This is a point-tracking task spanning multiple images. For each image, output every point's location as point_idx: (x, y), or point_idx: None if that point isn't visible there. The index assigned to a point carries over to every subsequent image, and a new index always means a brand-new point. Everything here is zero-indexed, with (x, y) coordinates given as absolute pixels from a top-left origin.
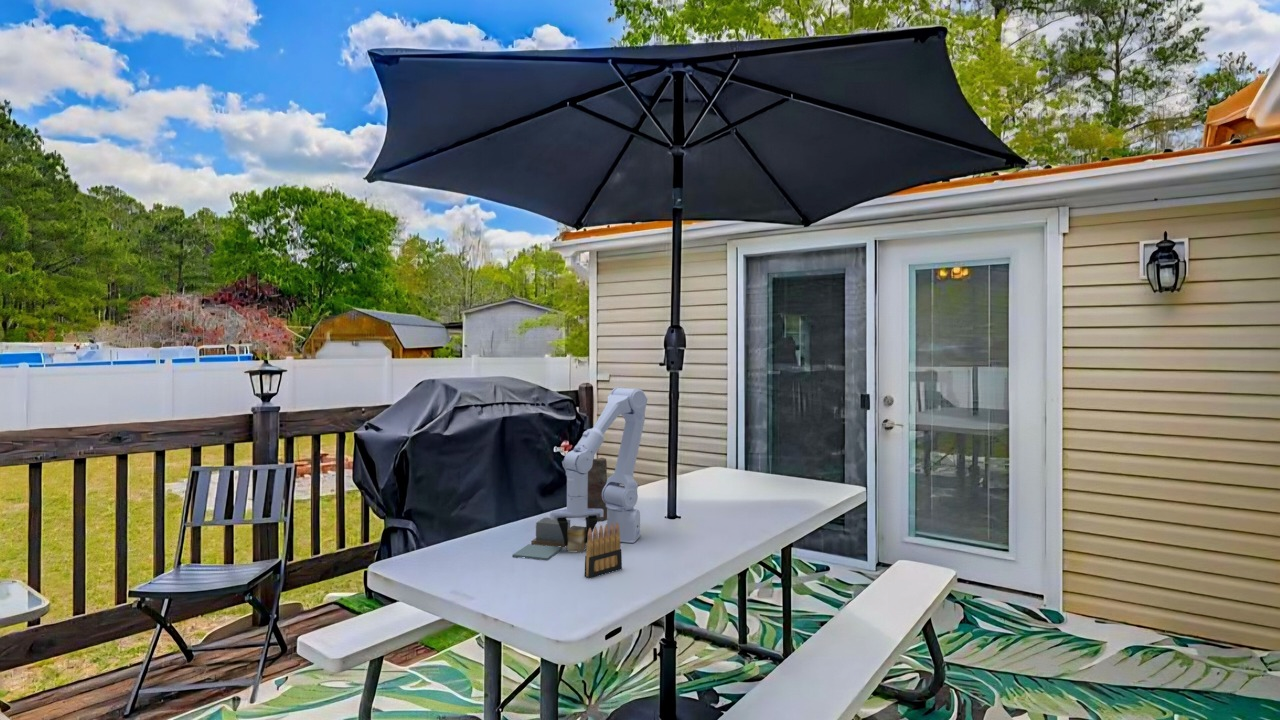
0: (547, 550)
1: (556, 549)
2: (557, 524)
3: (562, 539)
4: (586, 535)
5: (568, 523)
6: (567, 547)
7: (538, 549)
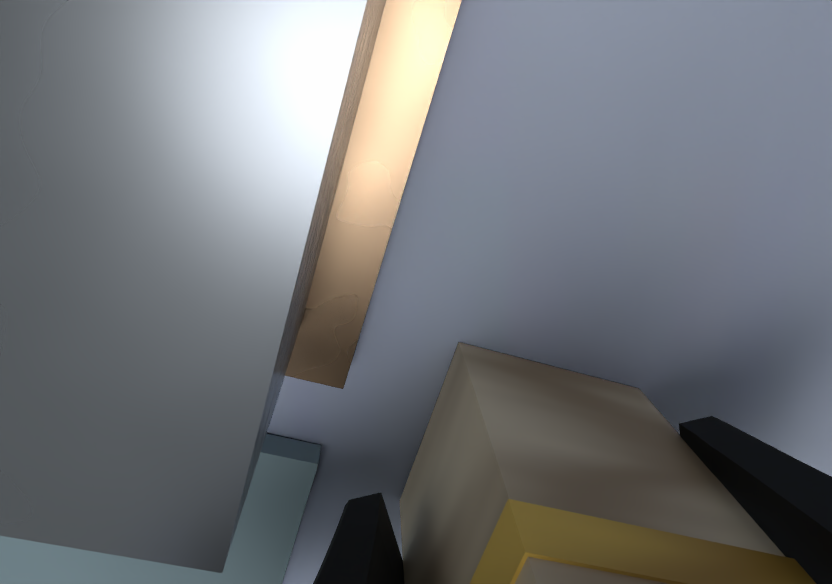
0: (150, 582)
1: (260, 547)
2: (21, 532)
3: (292, 350)
4: (756, 521)
5: (372, 7)
6: (403, 536)
7: (14, 556)
